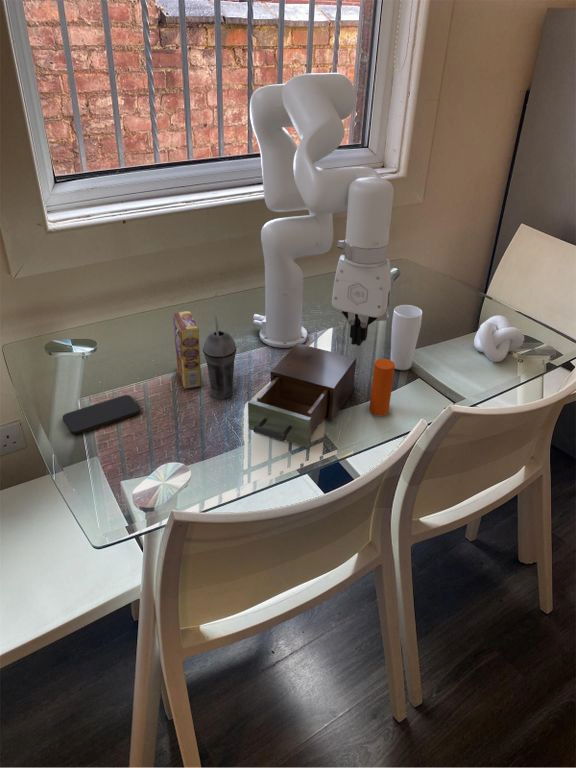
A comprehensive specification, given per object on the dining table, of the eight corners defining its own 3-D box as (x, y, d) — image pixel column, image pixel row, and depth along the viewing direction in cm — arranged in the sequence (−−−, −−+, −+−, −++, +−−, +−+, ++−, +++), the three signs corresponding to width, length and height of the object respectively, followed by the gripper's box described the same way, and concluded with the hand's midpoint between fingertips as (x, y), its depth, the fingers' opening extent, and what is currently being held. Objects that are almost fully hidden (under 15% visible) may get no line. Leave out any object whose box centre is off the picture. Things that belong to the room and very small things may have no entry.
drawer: (299, 460, 117) (299, 432, 113) (238, 440, 121) (237, 413, 118) (331, 414, 129) (333, 388, 126) (275, 398, 134) (275, 372, 130)
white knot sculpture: (459, 344, 157) (465, 314, 152) (498, 338, 160) (505, 308, 155) (483, 366, 148) (491, 335, 143) (524, 359, 151) (533, 328, 146)
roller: (366, 412, 132) (371, 366, 125) (372, 402, 135) (378, 356, 128) (385, 417, 130) (391, 371, 124) (390, 407, 133) (397, 361, 127)
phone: (141, 410, 130) (71, 433, 122) (142, 413, 130) (72, 436, 123) (128, 393, 135) (60, 414, 127) (129, 396, 135) (61, 418, 128)
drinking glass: (414, 374, 145) (422, 319, 136) (385, 371, 146) (392, 315, 138) (414, 360, 150) (423, 306, 142) (387, 357, 151) (394, 303, 143)
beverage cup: (243, 387, 139) (240, 309, 128) (230, 405, 133) (226, 325, 122) (214, 381, 141) (209, 304, 130) (200, 398, 135) (194, 319, 124)
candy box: (203, 386, 139) (199, 328, 131) (184, 389, 138) (179, 331, 129) (194, 366, 146) (190, 310, 138) (177, 369, 145) (171, 312, 136)
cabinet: (331, 421, 129) (333, 388, 124) (270, 403, 134) (270, 371, 129) (353, 389, 139) (356, 358, 134) (296, 374, 144) (296, 343, 139)
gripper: (318, 251, 106) (314, 342, 116) (401, 265, 101) (389, 359, 111) (333, 238, 112) (328, 326, 122) (412, 251, 107) (400, 341, 117)
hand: (357, 341), depth 117 cm, fingers closed
